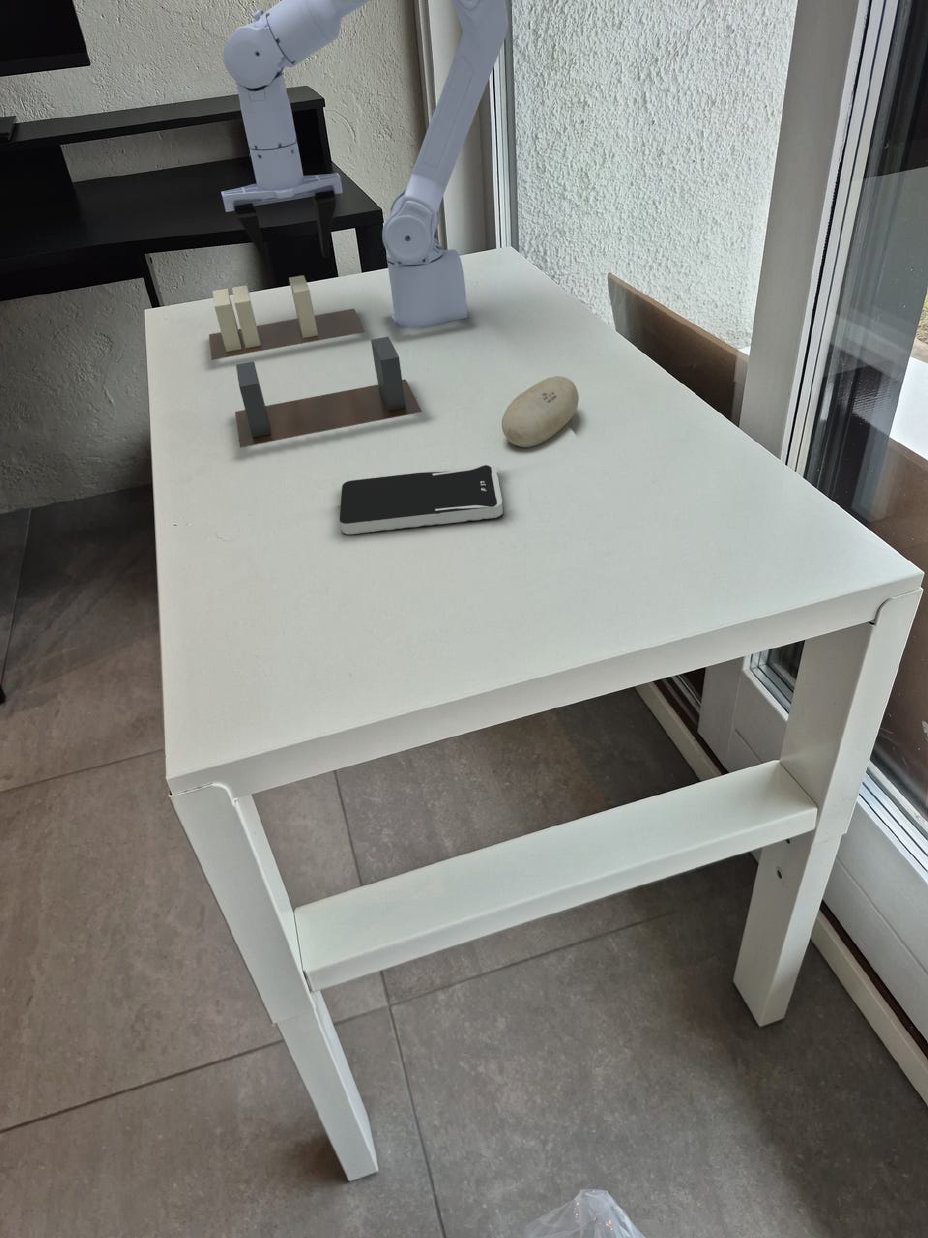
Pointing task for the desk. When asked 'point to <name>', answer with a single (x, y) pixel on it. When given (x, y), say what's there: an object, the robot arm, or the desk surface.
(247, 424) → the shelf
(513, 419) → the stone
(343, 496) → the smartphone
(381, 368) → the grey books
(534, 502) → the desk surface
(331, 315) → the shelf
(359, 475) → the desk surface
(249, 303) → the cream books
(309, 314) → the cream book
